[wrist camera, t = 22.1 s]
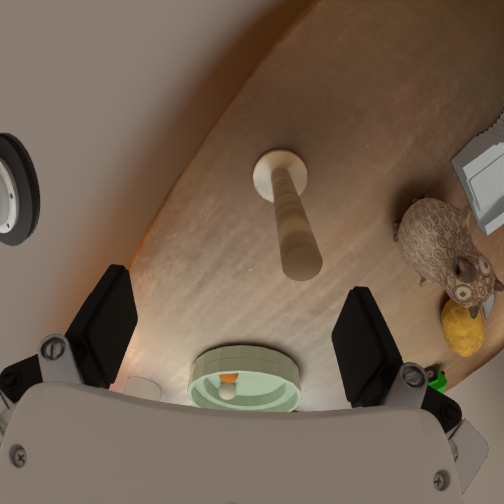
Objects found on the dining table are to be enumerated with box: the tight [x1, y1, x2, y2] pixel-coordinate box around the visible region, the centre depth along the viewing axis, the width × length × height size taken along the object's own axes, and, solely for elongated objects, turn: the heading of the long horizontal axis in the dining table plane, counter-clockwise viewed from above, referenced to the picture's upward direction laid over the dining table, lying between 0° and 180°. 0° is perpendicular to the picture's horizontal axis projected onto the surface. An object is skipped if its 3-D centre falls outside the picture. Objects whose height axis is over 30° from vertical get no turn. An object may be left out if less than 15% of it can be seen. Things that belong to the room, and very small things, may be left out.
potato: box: [441, 298, 484, 357], centre depth 31 cm, size 7×14×7 cm, turn 45°
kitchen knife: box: [482, 291, 497, 320], centre depth 30 cm, size 21×2×5 cm
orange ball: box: [219, 373, 239, 383], centre depth 37 cm, size 3×3×3 cm
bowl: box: [187, 345, 302, 412], centre depth 39 cm, size 17×17×5 cm
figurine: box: [393, 195, 504, 319], centre depth 20 cm, size 9×10×15 cm
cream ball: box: [218, 383, 236, 400], centre depth 40 cm, size 3×3×3 cm
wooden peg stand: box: [253, 149, 322, 281], centre depth 18 cm, size 5×5×15 cm
